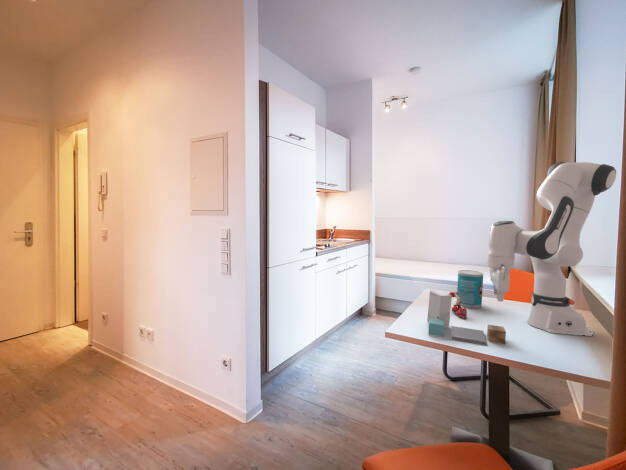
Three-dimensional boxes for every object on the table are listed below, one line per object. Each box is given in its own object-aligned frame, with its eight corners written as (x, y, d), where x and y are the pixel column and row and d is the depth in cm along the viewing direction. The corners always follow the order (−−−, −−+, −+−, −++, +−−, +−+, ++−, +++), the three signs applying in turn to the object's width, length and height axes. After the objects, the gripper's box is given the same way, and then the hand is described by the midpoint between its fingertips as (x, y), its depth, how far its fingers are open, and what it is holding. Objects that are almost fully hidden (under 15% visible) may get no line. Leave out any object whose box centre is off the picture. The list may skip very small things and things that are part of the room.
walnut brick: (502, 338, 123) (503, 326, 122) (505, 344, 118) (505, 331, 117) (487, 336, 125) (487, 324, 124) (488, 341, 120) (489, 329, 119)
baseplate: (482, 333, 127) (483, 330, 127) (486, 345, 116) (486, 342, 116) (451, 328, 132) (451, 325, 132) (451, 339, 121) (451, 336, 121)
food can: (452, 301, 171) (454, 270, 169) (473, 301, 171) (475, 270, 170) (463, 308, 159) (465, 274, 157) (486, 308, 159) (488, 274, 158)
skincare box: (426, 322, 140) (428, 290, 138) (438, 320, 141) (439, 289, 140) (438, 329, 132) (440, 295, 130) (450, 327, 133) (452, 294, 132)
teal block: (443, 332, 129) (443, 320, 128) (442, 337, 124) (443, 325, 123) (429, 329, 131) (429, 318, 130) (428, 334, 126) (428, 322, 125)
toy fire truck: (460, 318, 144) (461, 298, 143) (448, 309, 158) (449, 291, 157) (467, 319, 144) (468, 299, 143) (454, 309, 158) (455, 291, 157)
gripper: (515, 268, 108) (512, 306, 109) (505, 259, 126) (503, 292, 128) (494, 266, 110) (492, 304, 111) (488, 258, 129) (485, 290, 130)
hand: (498, 297), depth 120 cm, fingers open, 8 cm apart
